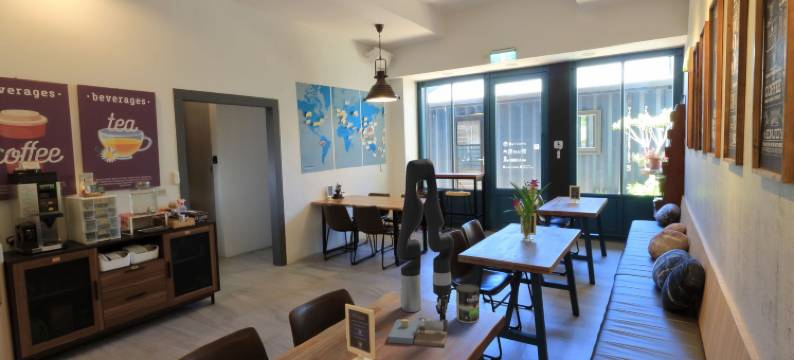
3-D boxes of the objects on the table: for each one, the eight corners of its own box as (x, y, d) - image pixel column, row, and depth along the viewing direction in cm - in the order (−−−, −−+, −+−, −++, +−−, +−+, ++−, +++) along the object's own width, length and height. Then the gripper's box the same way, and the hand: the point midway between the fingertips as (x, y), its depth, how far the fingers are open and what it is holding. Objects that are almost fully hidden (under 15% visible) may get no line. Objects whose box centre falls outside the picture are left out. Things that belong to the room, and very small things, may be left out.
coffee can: (484, 320, 185) (484, 289, 184) (465, 325, 180) (465, 293, 179) (470, 311, 194) (469, 282, 193) (451, 316, 190) (451, 286, 188)
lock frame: (396, 324, 183) (396, 313, 182) (448, 328, 178) (448, 316, 178) (388, 342, 167) (387, 330, 167) (444, 346, 163) (444, 334, 162)
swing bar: (417, 330, 171) (417, 320, 171) (418, 326, 174) (418, 317, 174) (447, 332, 168) (446, 322, 168) (447, 328, 172) (447, 319, 171)
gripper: (447, 287, 165) (448, 330, 167) (454, 277, 178) (455, 316, 179) (428, 286, 168) (429, 327, 169) (437, 275, 180) (438, 314, 182)
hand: (442, 322), depth 174 cm, fingers closed
